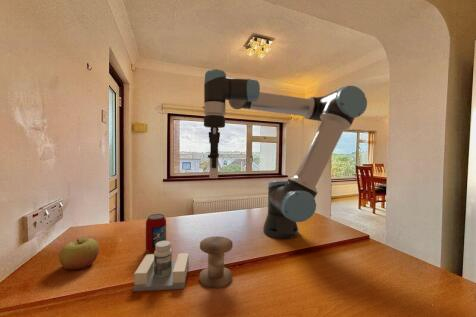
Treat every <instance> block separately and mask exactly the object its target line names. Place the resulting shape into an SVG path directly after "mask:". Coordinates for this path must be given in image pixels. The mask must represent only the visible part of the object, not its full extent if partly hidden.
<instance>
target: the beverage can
mask: <svg viewBox="0 0 476 317" xmlns="http://www.w3.org/2000/svg"><path fill="white" fill-rule="evenodd" d="M160 241H167V219H166V217H165V215H164V214H161V213H154V214H150V215H148V216H147V219H146V221H145V249H146V251H147V252H149V253H151V254H154V252H155V250H156V249H155V245H156V243H157V242H160Z"/></svg>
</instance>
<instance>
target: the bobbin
mask: <svg viewBox="0 0 476 317" xmlns="http://www.w3.org/2000/svg"><path fill="white" fill-rule="evenodd" d="M232 248H233V240H231V239H230V238H228V237H225V236H209V237H206V238H203V239H202V240H201V241H200V243H199V249H200V251H202V252H203V253H206V254H208V255H207V267H206V268H204V269H202V270H201V271H200V273H199V282H200V284H201V285H202V286H204V287H206V288H209V289H220V288H223V287H226V286H228V285H229V284H230V283H231V281H232V277H233V275H232V271H231V269H230V268H227V267H225V266H224V265H225V254H226V253H228V252H230V251H231V250H232Z"/></svg>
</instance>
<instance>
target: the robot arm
mask: <svg viewBox="0 0 476 317" xmlns="http://www.w3.org/2000/svg"><path fill="white" fill-rule="evenodd" d="M203 84H204V85H203V86H204V89H203V91H204V92H203V96H204V99H203V101H204V102H203V105H202V109H203V114H204V115H205V116H204V117H203V126H204V127H205V128H209V129H210V131H208V142H209V144H210V146H209V148H210V149H209V150H210V152H209V154H207V159H209V179H218V178H219V157H220V155H219V144H220V138H221V132H220V130H219V129H221V128H223V129H224V128H225V126H226V117H225V116H226V101H228V104H229V106H230V107H231V108H232V109H234V110H241V109H244V110H253V111H254V110H255V111H261V112H269V113H275V114H276V113H277V114H285V115H291V116H297V117H298V116H300V117H303V118H304V119H306V120H311V121H317V122H320V125H318V129H317V131H316V132H315V134H314V135H313V138H312V140H311V142H310V144H309V146H308V148H307V150H306V152H305V154H304V156H303V158H302V161H301V162H300V164H299V166H298V168H297V170H296V173H295V174H294V175H293V176H291V177H288V178H287V180H270V181H269V182H268V187H267V189H268V191H267V192H268V194H267V215H266V218H265V221H264V223H263V227H262V228H263V230H262V231H263V233H264V234H265V235H266V236H268V237H270V238H274V237H275V239H279V238H290V239H293V238H292V237H294V238H296V237H297V235H299V228H298V224H297V223H302V222H305V221H308V220H309V219H310V218H312V217H313V216H314V214H315V213H316V208H317V203H316V196H317V194H318V190H317V185H318V183H319V180H320V179H321V177H322V176H323V173H324V170H325V169H326V167H327V164H328V162H329V160H330V159H331V156H332V155H333V153H334V151H335V149H336V146H337V145H338V142H339V140H340V139H341V137H342V134H343V132H344V131H345V130H349V129H350V128H351V127H352V124H353V123H354V120H355V118H358V117H360V116H362V115H363V114H364V113H365V111H367V107H368V100H367V97H366V93H365V92H364V91H363V90H362V89H361V88H359V87H358V86H355V85H346V86H343V87H340V88H338V89H337V90H335V91H332V92H331V93H328V94H326V95H323V96H318V97H316V96H309V97H308V98H307V97H306V98H305V97H300V96H299V97H298V96H292V95H291V96H290V95H285V94H284V95H283V94H277V93H270V92H261V91H260V90H261V88H260V82H259V81H258V80H257V79H250V78H233V77H232V78H231V77H227V74H226V71H224V70H222V69H217V68H216V69H215V68H214V69H209V70H207V71H206V72H205V73H204V83H203ZM295 236H296V237H295Z"/></svg>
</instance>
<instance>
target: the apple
mask: <svg viewBox="0 0 476 317" xmlns="http://www.w3.org/2000/svg"><path fill="white" fill-rule="evenodd" d="M99 254H100V245H99V243H98V241H97V240H96V239H94V238H91V237H82V238H77V239H74V240H72V241H69V242H67V243H66V244H64V245H63V247H62V248H61V250H60V252H59V254H58V261H59V264H60V265H61V266H62V267H63V268H64V269H67V270H70V271H71V270H75V271H76V270H80V269H83V268H86V267H88V266H89V265H91V264H92V263H94V261H96V259H97V257H98V256H99Z"/></svg>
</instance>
